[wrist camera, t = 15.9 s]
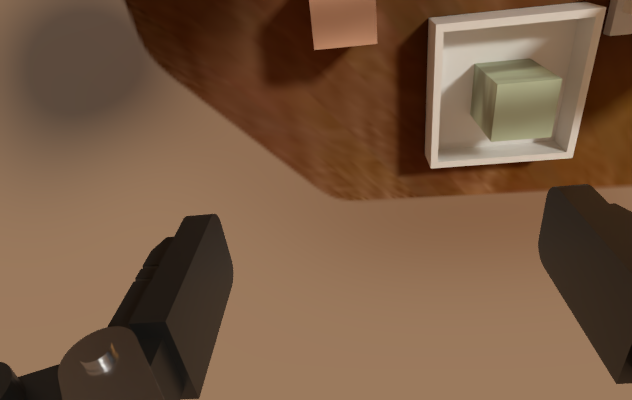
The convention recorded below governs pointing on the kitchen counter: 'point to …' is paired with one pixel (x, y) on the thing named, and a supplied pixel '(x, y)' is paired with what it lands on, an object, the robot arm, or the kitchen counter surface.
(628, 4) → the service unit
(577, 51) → the tray
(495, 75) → the sage block
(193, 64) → the kitchen counter surface
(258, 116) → the kitchen counter surface
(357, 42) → the terracotta block
